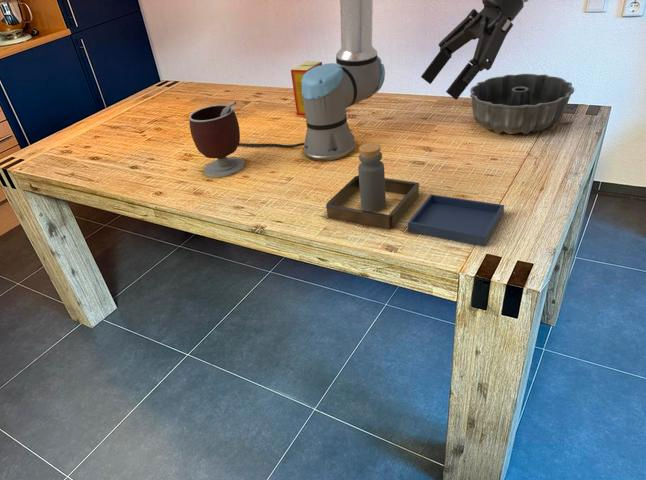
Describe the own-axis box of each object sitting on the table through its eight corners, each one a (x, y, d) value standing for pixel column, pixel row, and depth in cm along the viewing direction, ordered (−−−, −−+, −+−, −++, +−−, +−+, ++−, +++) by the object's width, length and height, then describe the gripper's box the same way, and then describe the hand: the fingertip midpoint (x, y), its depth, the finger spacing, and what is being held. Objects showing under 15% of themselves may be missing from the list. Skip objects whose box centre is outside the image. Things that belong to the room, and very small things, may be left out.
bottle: (385, 211, 118) (382, 151, 109) (360, 212, 119) (355, 153, 111) (386, 199, 122) (383, 140, 114) (362, 200, 124) (357, 142, 115)
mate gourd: (193, 178, 151) (174, 112, 139) (215, 157, 161) (199, 94, 149) (239, 179, 145) (224, 110, 133) (258, 158, 155) (246, 92, 143)
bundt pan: (590, 125, 137) (598, 88, 131) (505, 150, 133) (509, 113, 128) (525, 100, 158) (529, 67, 152) (450, 121, 154) (451, 88, 149)
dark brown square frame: (325, 217, 120) (324, 205, 118) (358, 185, 130) (357, 174, 129) (391, 230, 111) (390, 217, 109) (420, 195, 122) (420, 182, 120)
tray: (407, 231, 110) (407, 222, 109) (430, 202, 118) (430, 194, 117) (484, 246, 101) (485, 236, 100) (503, 214, 109) (504, 205, 108)
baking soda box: (312, 116, 177) (306, 69, 168) (297, 115, 181) (290, 68, 171) (326, 106, 183) (321, 60, 173) (311, 105, 186) (306, 60, 177)
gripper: (559, 12, 91) (476, 113, 99) (491, -1, 111) (427, 83, 120) (533, -15, 88) (450, 92, 96) (468, -23, 108) (404, 65, 117)
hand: (437, 88), depth 108 cm, fingers open, 13 cm apart
